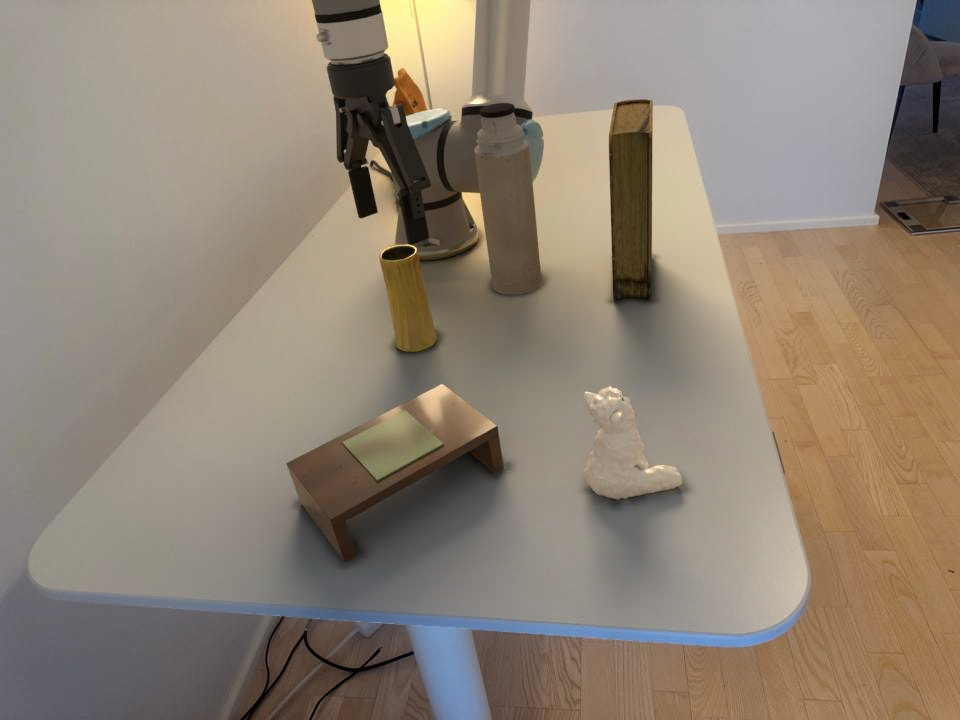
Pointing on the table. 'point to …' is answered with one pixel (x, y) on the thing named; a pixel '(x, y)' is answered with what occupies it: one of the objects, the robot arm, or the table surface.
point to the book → (631, 197)
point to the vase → (407, 298)
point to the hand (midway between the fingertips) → (392, 227)
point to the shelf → (389, 459)
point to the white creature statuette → (621, 451)
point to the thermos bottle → (507, 201)
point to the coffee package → (408, 94)
